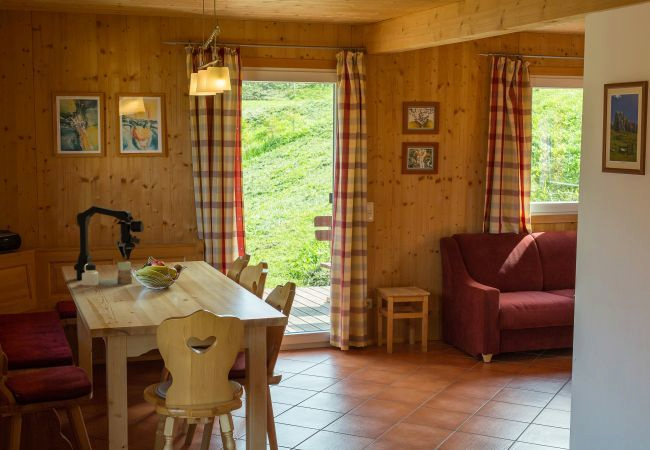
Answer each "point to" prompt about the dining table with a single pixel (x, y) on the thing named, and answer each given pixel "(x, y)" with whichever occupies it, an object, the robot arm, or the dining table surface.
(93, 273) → the medicine bottle
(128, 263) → the sage block
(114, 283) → the mat
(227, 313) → the dining table surface
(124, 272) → the tower top
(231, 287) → the dining table surface
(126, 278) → the tower base
